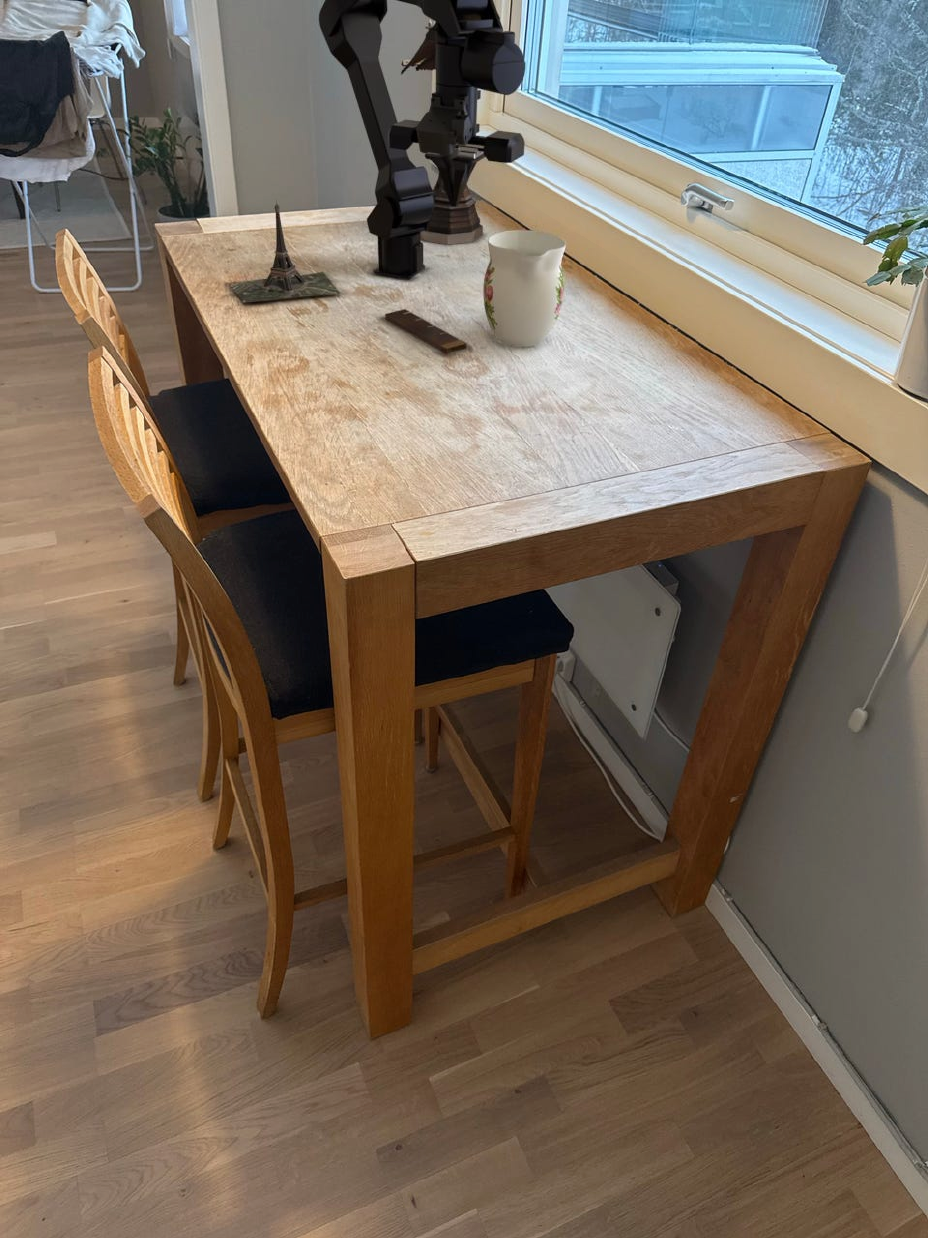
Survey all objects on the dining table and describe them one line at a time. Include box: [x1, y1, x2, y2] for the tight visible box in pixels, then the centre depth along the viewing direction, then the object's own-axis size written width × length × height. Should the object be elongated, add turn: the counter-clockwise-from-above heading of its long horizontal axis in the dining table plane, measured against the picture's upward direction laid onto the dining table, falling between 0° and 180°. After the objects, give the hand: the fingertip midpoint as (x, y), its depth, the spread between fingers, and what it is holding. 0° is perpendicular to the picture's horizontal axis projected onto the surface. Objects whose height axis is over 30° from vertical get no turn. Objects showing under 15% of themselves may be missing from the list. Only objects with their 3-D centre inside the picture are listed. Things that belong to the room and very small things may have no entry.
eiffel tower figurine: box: [229, 199, 341, 304], centre depth 134 cm, size 15×10×13 cm
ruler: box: [384, 308, 467, 355], centre depth 127 cm, size 15×4×1 cm, turn 37°
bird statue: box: [400, 18, 484, 246], centre depth 153 cm, size 17×13×35 cm
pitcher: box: [482, 229, 567, 348], centre depth 123 cm, size 11×18×14 cm, turn 3°
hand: (454, 206), depth 130 cm, fingers closed
